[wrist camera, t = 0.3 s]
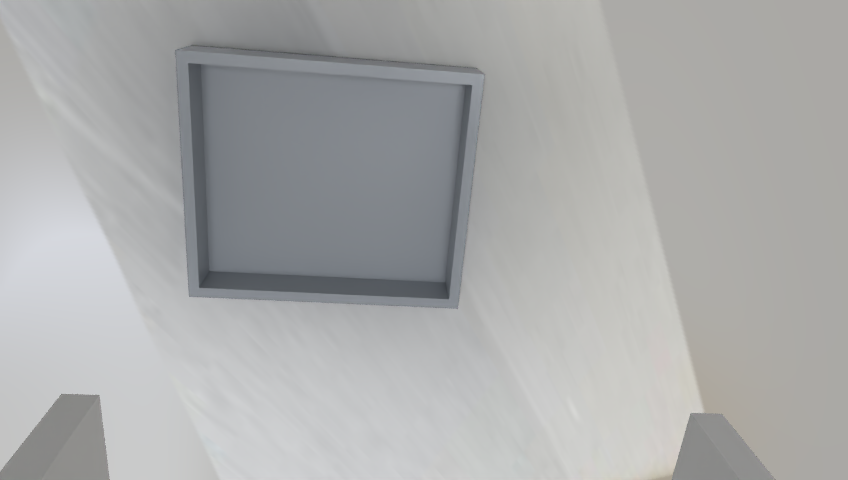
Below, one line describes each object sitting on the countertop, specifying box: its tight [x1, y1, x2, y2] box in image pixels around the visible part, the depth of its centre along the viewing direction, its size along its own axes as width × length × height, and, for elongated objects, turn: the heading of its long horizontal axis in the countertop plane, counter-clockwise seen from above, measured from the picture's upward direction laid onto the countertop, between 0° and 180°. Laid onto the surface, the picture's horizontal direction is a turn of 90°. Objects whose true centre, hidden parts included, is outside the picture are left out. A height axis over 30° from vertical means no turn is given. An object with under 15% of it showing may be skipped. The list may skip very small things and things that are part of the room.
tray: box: [175, 45, 485, 309], centre depth 37 cm, size 14×16×3 cm
